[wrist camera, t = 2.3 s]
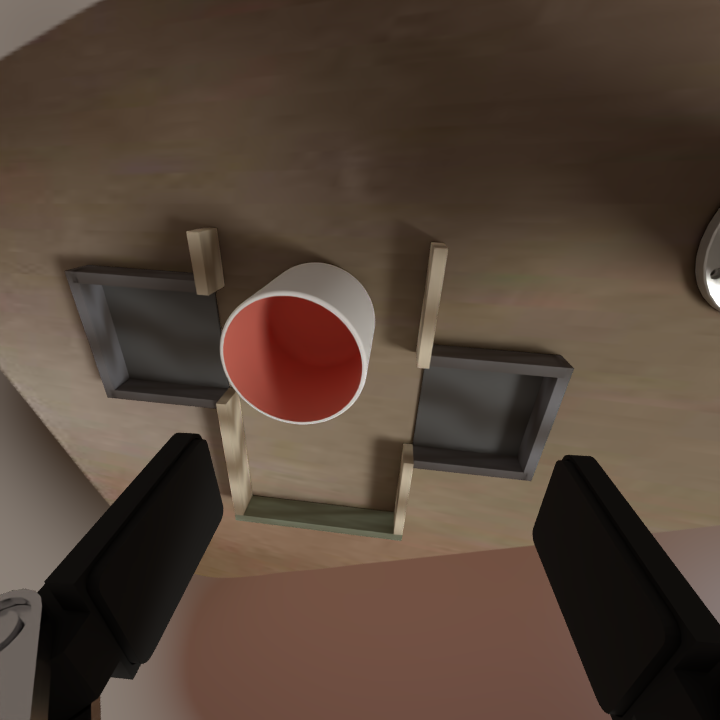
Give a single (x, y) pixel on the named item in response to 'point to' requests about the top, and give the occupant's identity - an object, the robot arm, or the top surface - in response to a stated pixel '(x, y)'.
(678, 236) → the top surface
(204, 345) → the box
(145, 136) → the top surface
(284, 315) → the cup
